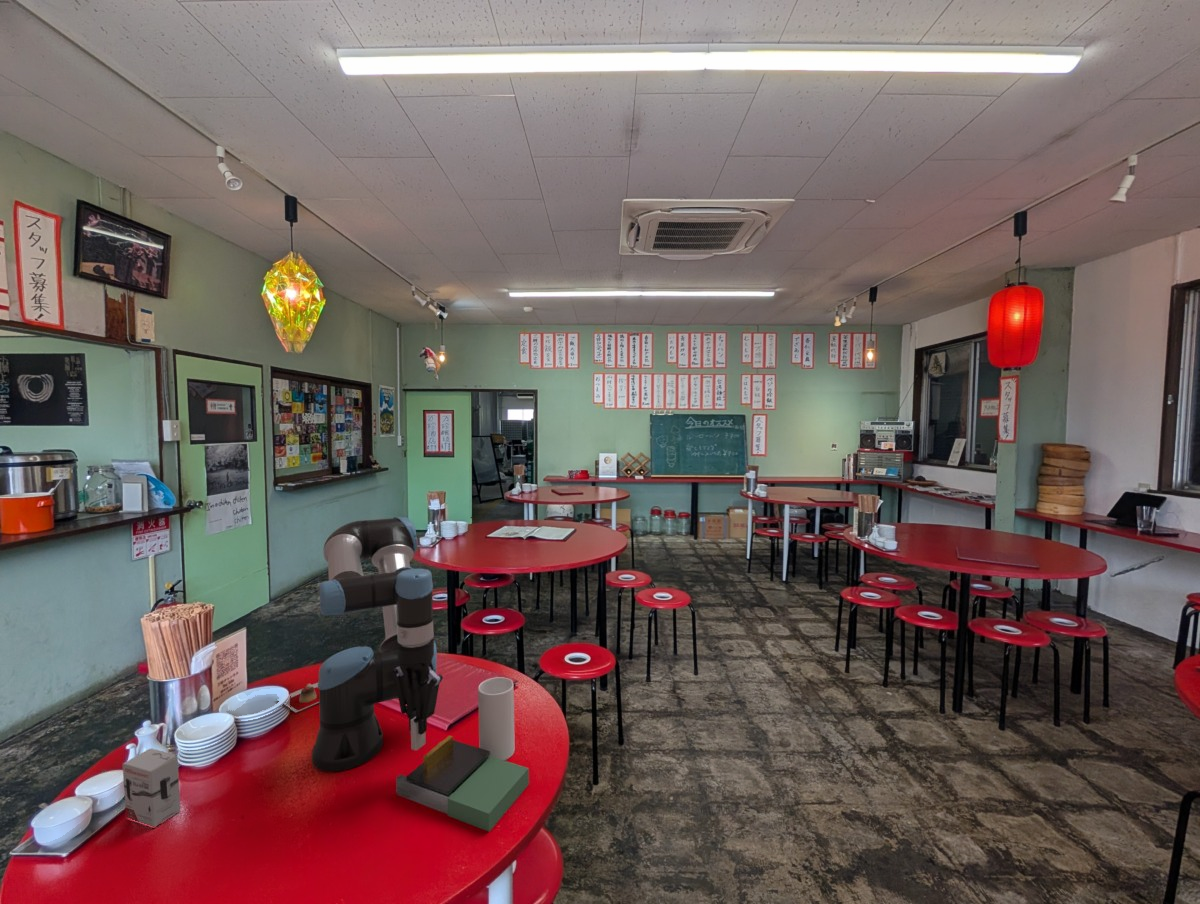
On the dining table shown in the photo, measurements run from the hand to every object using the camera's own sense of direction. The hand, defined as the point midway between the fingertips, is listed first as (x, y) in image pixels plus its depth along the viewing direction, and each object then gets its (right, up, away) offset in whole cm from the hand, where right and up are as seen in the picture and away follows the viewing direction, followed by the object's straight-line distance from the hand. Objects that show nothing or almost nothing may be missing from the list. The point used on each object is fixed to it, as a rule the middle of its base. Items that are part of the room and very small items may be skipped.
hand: (418, 746), depth 110 cm
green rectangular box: (+18, -7, -7) cm, 20 cm away
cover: (+8, -3, -3) cm, 9 cm away
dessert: (-44, -7, +33) cm, 56 cm away
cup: (+16, -6, +8) cm, 19 cm away
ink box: (-49, -8, -11) cm, 51 cm away
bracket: (+7, -7, -3) cm, 10 cm away
